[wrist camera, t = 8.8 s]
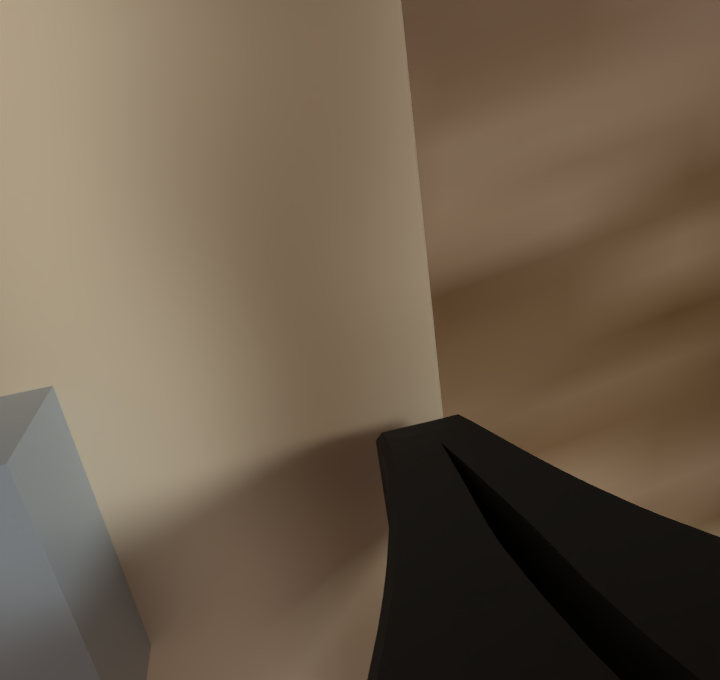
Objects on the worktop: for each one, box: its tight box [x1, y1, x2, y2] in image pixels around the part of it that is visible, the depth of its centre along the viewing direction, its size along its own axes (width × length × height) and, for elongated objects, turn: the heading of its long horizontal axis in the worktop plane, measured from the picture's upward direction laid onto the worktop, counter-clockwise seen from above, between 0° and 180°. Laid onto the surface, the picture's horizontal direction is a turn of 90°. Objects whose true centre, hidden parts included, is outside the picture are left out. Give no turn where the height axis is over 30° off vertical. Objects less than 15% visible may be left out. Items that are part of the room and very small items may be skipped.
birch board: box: [0, 0, 443, 680], centre depth 12 cm, size 16×21×3 cm
